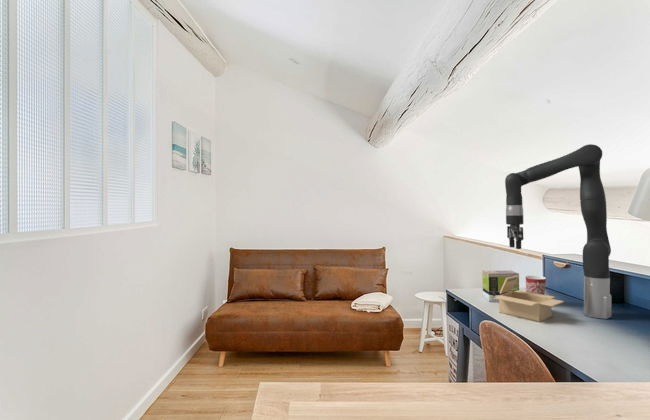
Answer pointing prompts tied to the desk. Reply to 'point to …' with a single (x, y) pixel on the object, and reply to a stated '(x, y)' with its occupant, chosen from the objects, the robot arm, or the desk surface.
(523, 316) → the carton
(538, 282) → the mug
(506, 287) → the flap
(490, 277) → the tea box
